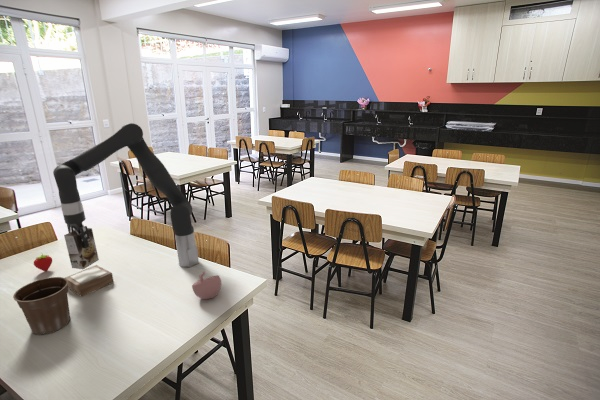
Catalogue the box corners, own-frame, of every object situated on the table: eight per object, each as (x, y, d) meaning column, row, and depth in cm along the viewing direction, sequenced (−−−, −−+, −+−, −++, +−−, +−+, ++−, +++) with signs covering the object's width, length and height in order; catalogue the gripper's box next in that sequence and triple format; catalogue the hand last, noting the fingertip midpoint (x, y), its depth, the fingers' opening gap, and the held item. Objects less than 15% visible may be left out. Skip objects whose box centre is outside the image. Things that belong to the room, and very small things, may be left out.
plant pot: (87, 315, 131) (78, 280, 126) (45, 343, 116) (33, 305, 111) (58, 308, 136) (48, 273, 131) (14, 333, 122) (2, 296, 117)
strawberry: (35, 271, 165) (30, 253, 162) (53, 266, 170) (48, 248, 167) (37, 276, 161) (32, 257, 158) (56, 270, 166) (51, 252, 163)
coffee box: (83, 269, 144) (75, 236, 139) (71, 268, 146) (62, 235, 141) (99, 259, 153) (92, 227, 148) (88, 258, 154) (80, 227, 149)
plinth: (113, 282, 154) (111, 272, 153) (81, 296, 143) (79, 286, 142) (98, 273, 162) (96, 264, 160) (67, 287, 151) (64, 277, 149)
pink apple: (213, 285, 150) (211, 263, 147) (227, 296, 142) (225, 273, 139) (188, 296, 142) (185, 273, 139) (202, 308, 134) (199, 284, 131)
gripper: (90, 211, 141) (98, 246, 146) (75, 206, 148) (82, 239, 153) (71, 217, 135) (80, 252, 140) (56, 210, 142) (65, 245, 147)
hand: (81, 245), depth 147 cm, fingers closed on coffee box, 8 cm apart
